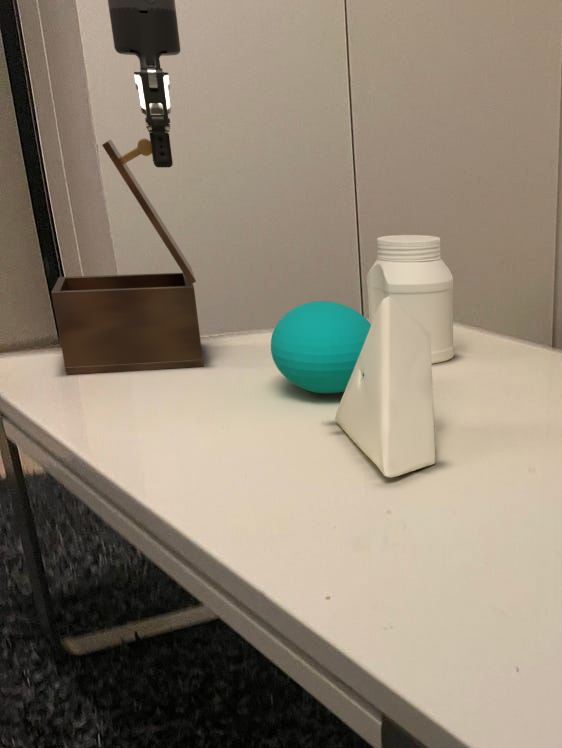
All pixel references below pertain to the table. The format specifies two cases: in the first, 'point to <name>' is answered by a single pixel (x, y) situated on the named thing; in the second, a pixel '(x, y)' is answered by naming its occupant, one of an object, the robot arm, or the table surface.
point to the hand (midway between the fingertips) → (163, 165)
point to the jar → (415, 286)
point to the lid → (120, 163)
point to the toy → (319, 345)
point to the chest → (127, 322)
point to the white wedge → (392, 394)
